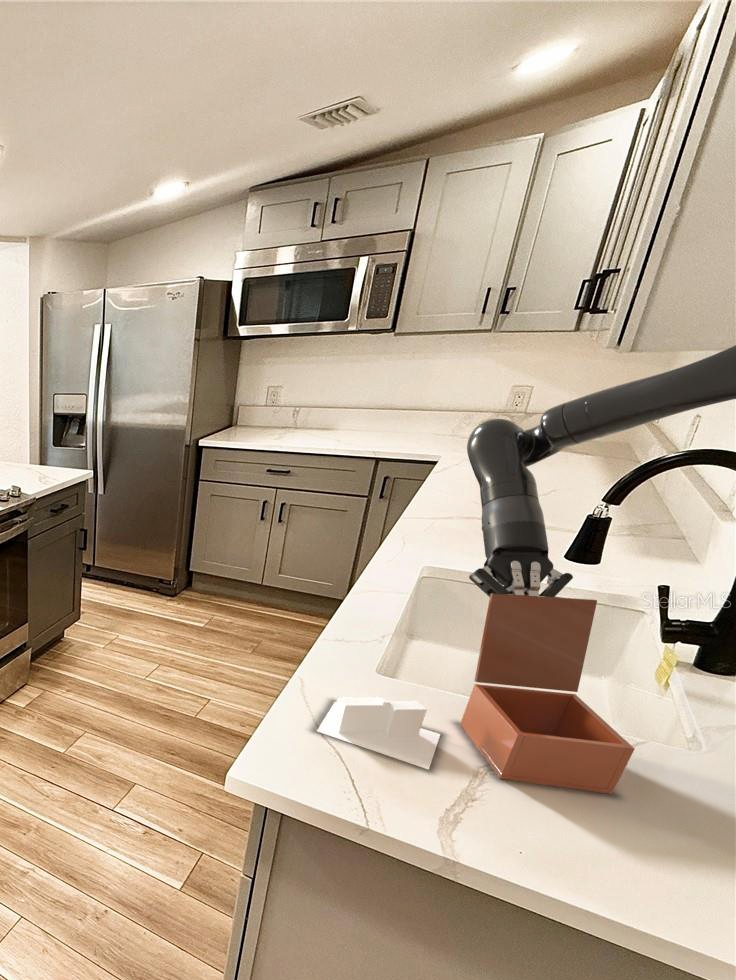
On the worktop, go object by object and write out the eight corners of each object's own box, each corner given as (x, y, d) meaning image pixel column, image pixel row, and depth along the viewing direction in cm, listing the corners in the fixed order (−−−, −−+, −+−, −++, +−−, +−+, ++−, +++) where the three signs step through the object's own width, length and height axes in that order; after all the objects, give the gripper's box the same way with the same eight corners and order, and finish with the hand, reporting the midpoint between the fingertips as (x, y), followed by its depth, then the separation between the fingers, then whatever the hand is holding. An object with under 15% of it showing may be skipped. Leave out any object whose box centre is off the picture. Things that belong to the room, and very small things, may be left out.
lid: (597, 600, 90) (594, 599, 91) (492, 593, 94) (490, 593, 94) (577, 692, 92) (574, 690, 93) (476, 682, 96) (474, 681, 97)
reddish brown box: (611, 794, 84) (635, 748, 81) (499, 778, 88) (517, 734, 85) (556, 735, 96) (575, 693, 93) (459, 724, 100) (474, 683, 97)
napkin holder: (316, 731, 100) (323, 702, 98) (334, 701, 108) (340, 673, 105) (429, 770, 91) (440, 738, 88) (440, 733, 98) (451, 703, 96)
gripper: (476, 517, 100) (487, 616, 94) (579, 520, 96) (597, 624, 90) (453, 537, 106) (462, 631, 101) (548, 541, 102) (564, 639, 97)
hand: (526, 628), depth 95 cm, fingers closed
